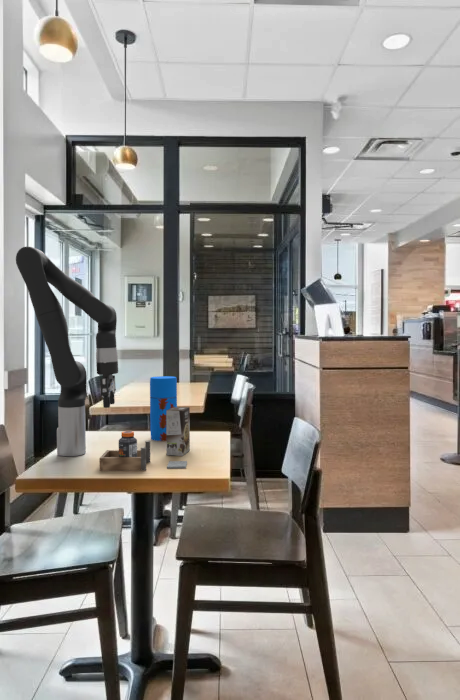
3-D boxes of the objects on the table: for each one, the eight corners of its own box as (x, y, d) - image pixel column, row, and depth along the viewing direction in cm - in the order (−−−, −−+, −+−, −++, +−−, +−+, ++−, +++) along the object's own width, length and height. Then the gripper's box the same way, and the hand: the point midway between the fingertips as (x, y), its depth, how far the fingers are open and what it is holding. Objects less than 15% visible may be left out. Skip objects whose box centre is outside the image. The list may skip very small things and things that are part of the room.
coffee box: (183, 456, 185) (183, 410, 184) (165, 455, 186) (165, 410, 185) (190, 450, 194) (190, 406, 193) (173, 449, 195) (173, 406, 194)
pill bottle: (115, 466, 172) (114, 431, 171) (130, 462, 176) (130, 429, 175) (125, 469, 167) (125, 434, 167) (141, 466, 171) (140, 431, 171)
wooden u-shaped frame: (99, 470, 166) (99, 448, 166) (107, 462, 177) (106, 441, 177) (145, 470, 166) (145, 448, 166) (150, 461, 177) (150, 441, 177)
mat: (167, 468, 168) (167, 466, 168) (169, 462, 175) (169, 461, 175) (185, 468, 168) (185, 466, 168) (187, 462, 175) (187, 461, 175)
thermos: (153, 435, 221) (152, 376, 220) (178, 435, 221) (178, 376, 220) (148, 441, 210) (147, 378, 209) (174, 441, 210) (174, 378, 209)
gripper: (100, 360, 195) (102, 403, 196) (91, 362, 181) (94, 409, 181) (121, 359, 195) (123, 402, 196) (113, 361, 181) (116, 408, 182)
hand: (109, 405), depth 189 cm, fingers open, 8 cm apart
